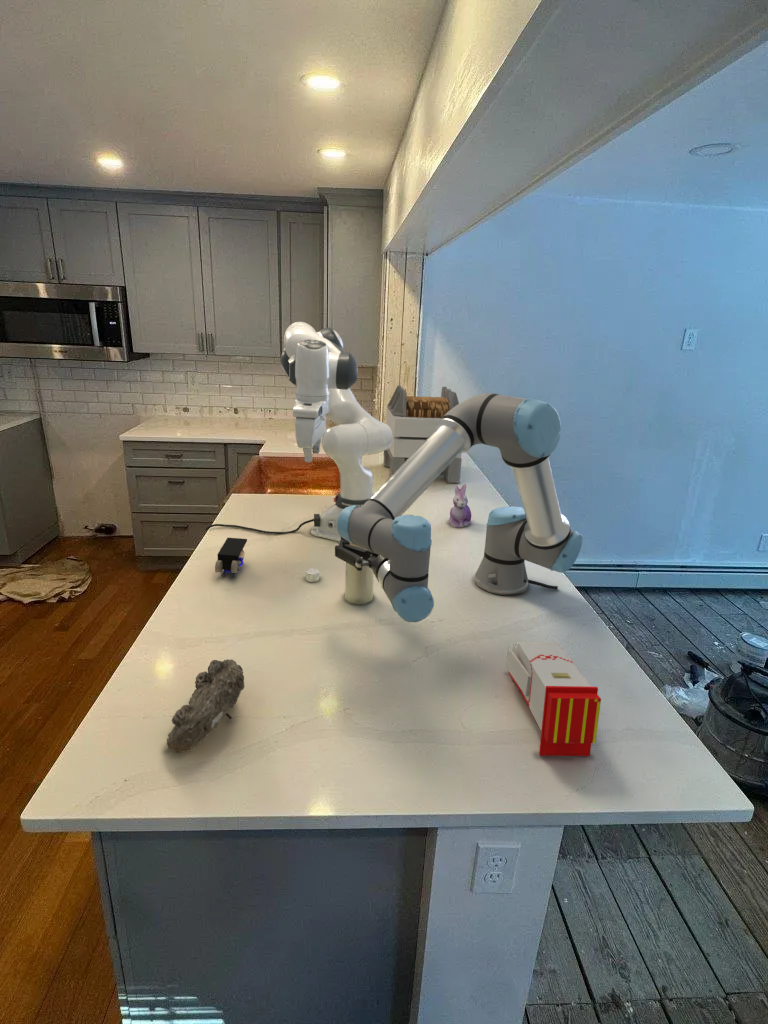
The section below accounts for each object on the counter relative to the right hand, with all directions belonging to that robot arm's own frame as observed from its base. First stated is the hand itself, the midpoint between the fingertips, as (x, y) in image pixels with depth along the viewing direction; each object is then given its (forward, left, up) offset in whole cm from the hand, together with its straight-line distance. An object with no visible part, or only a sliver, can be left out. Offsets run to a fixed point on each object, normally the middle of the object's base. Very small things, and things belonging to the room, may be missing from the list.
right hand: (369, 535), depth 140 cm
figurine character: (+33, -32, -22) cm, 51 cm away
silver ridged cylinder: (0, -9, -22) cm, 24 cm away
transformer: (-58, -125, -22) cm, 139 cm away
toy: (-26, +43, -22) cm, 55 cm away
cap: (+11, -22, -20) cm, 32 cm away
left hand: (+11, -22, +14) cm, 29 cm away
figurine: (-50, -57, -22) cm, 79 cm away
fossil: (+38, +32, -22) cm, 54 cm away
